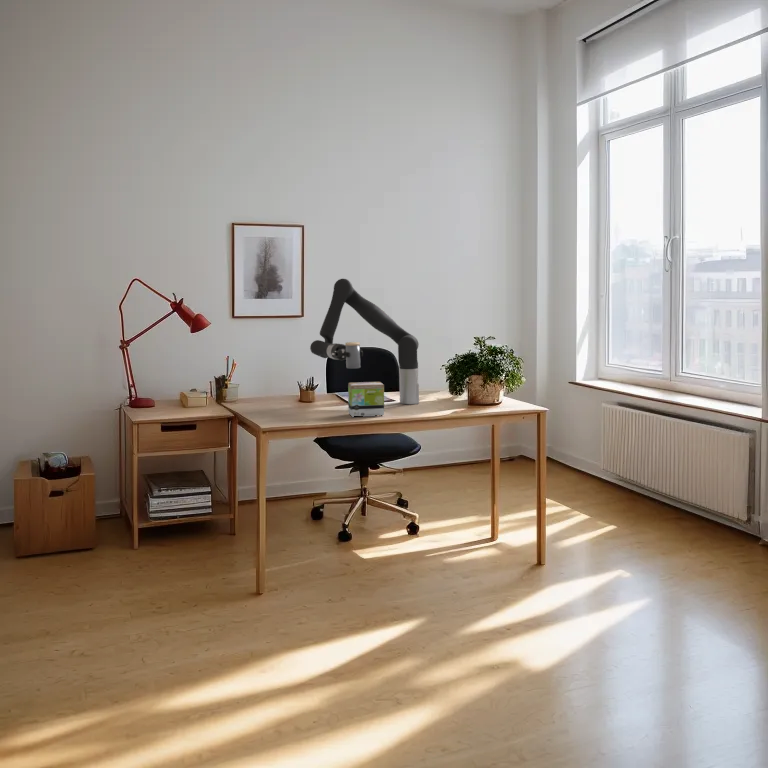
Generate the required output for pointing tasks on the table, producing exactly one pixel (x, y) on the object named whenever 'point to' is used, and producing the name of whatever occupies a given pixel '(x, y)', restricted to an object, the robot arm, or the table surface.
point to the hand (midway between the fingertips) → (355, 354)
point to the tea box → (365, 399)
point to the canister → (353, 355)
